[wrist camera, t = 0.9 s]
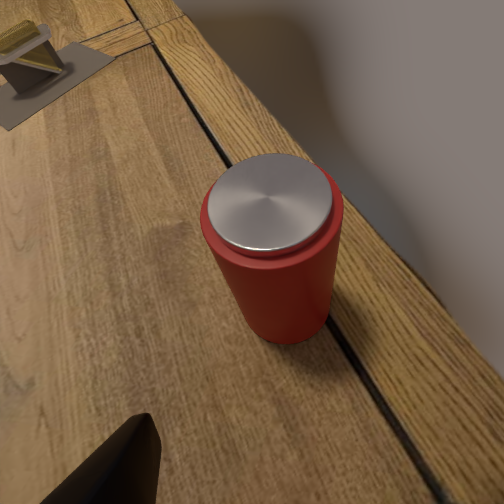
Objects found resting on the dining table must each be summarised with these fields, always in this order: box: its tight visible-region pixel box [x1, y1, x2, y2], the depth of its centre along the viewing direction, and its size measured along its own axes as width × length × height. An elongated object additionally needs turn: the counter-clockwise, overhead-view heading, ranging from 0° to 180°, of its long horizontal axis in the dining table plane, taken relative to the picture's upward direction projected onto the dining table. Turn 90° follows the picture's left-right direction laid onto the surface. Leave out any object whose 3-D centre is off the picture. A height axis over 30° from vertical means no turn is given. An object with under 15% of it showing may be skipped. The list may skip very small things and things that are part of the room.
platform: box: [0, 19, 116, 131], centre depth 44 cm, size 12×18×7 cm, turn 140°
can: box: [200, 153, 344, 344], centre depth 19 cm, size 6×6×12 cm
